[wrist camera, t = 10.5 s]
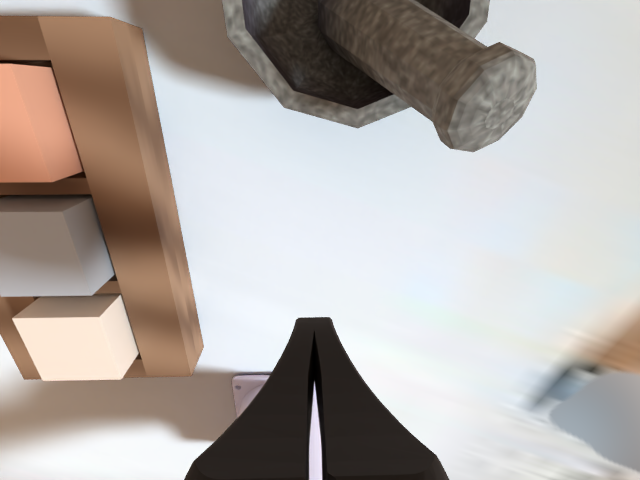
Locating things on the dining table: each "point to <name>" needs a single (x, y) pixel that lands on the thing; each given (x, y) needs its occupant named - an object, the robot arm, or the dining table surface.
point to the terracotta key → (34, 127)
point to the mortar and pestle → (386, 63)
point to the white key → (78, 337)
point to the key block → (113, 182)
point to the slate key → (52, 246)
